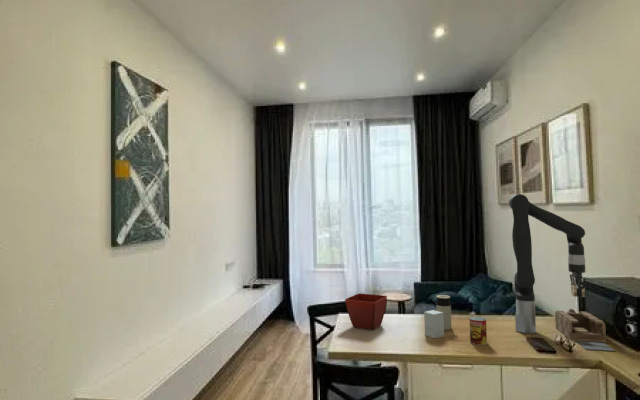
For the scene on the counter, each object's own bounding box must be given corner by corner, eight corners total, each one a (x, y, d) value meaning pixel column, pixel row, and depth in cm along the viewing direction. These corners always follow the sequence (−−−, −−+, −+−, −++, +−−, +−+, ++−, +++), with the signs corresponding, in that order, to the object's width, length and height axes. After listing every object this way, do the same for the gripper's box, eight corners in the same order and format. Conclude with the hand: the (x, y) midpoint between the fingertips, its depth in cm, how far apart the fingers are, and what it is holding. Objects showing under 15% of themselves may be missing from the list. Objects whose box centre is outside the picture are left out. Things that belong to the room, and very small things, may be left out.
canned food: (467, 342, 195) (466, 318, 196) (475, 338, 200) (474, 315, 201) (481, 346, 189) (480, 321, 190) (490, 342, 194) (489, 318, 194)
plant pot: (344, 328, 223) (344, 298, 224) (359, 320, 239) (358, 293, 240) (375, 333, 213) (374, 302, 214) (388, 324, 229) (387, 295, 230)
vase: (581, 326, 218) (581, 311, 218) (568, 326, 219) (567, 310, 220) (576, 323, 225) (575, 308, 225) (563, 322, 226) (562, 307, 226)
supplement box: (444, 336, 205) (443, 312, 206) (434, 338, 201) (434, 314, 202) (434, 332, 211) (433, 309, 212) (424, 335, 208) (423, 311, 208)
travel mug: (453, 330, 216) (452, 297, 217) (439, 330, 216) (438, 297, 217) (449, 325, 224) (448, 294, 225) (435, 326, 224) (434, 294, 225)
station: (620, 352, 178) (619, 330, 178) (581, 349, 182) (580, 328, 182) (588, 330, 211) (587, 311, 212) (555, 328, 215) (555, 310, 216)
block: (584, 296, 201) (584, 287, 202) (574, 296, 203) (573, 286, 203) (581, 295, 205) (581, 285, 206) (571, 295, 207) (570, 285, 207)
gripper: (563, 261, 212) (564, 292, 212) (573, 264, 199) (575, 298, 198) (579, 261, 211) (580, 293, 210) (590, 264, 197) (591, 298, 196)
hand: (577, 295), depth 204 cm, fingers closed on block, 4 cm apart
